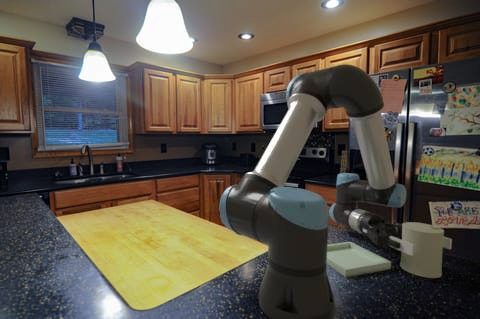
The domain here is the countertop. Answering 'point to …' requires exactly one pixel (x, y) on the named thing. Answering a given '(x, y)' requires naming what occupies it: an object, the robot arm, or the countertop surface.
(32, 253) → the countertop surface
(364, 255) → the tray
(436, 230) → the can
